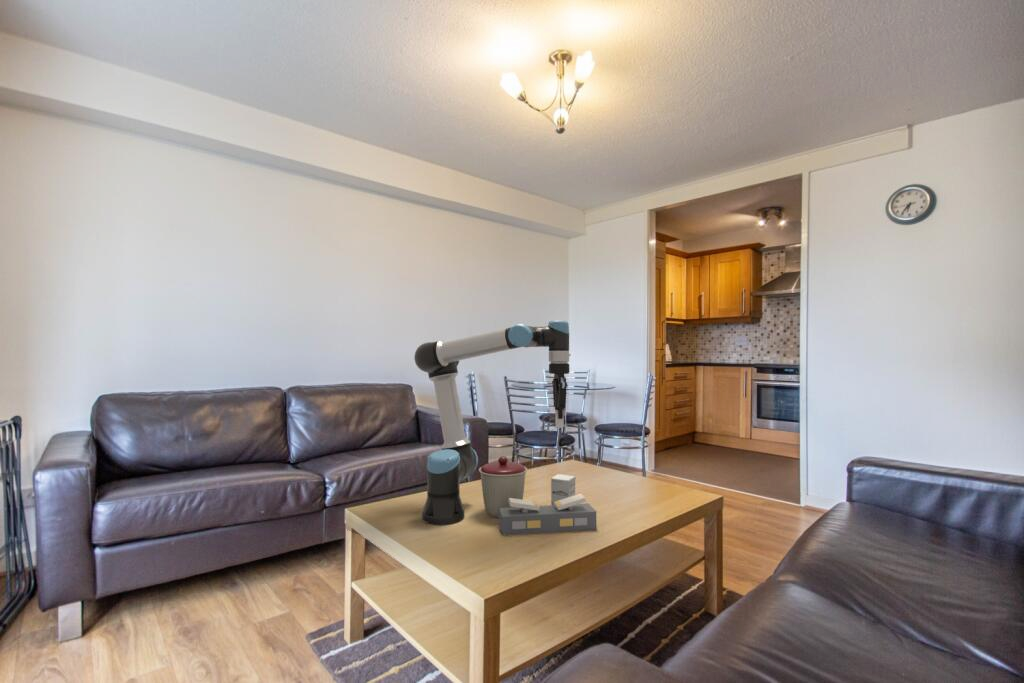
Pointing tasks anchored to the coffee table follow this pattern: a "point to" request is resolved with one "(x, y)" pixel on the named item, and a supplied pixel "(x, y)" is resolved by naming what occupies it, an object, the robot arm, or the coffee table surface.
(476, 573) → the coffee table surface
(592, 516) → the console
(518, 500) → the rocker
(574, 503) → the bar
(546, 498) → the coffee table surface
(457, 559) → the coffee table surface
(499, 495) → the canister
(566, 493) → the supplement box
